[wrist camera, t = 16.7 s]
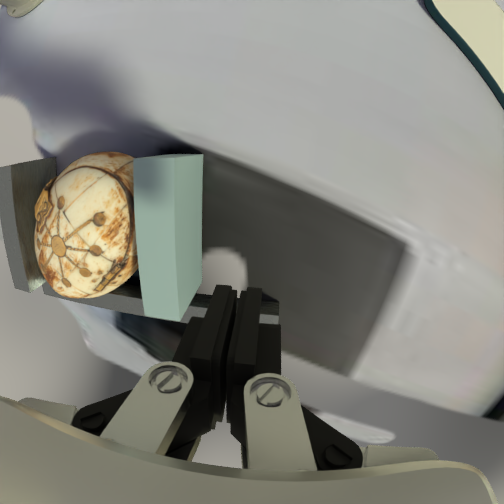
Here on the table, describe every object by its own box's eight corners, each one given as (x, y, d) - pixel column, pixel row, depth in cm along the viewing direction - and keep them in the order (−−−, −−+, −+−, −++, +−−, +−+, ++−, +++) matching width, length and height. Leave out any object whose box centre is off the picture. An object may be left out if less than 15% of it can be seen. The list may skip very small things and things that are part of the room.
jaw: (173, 278, 28) (144, 315, 22) (170, 154, 24) (133, 158, 17) (202, 281, 28) (179, 321, 21) (203, 154, 24) (174, 157, 17)
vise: (55, 285, 31) (22, 311, 24) (39, 159, 25) (-4, 168, 19) (277, 318, 29) (274, 365, 22) (293, 153, 23) (297, 154, 17)
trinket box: (182, 161, 24) (142, 169, 17) (156, 301, 30) (124, 345, 22) (71, 138, 24) (18, 143, 17) (62, 263, 30) (20, 292, 22)
